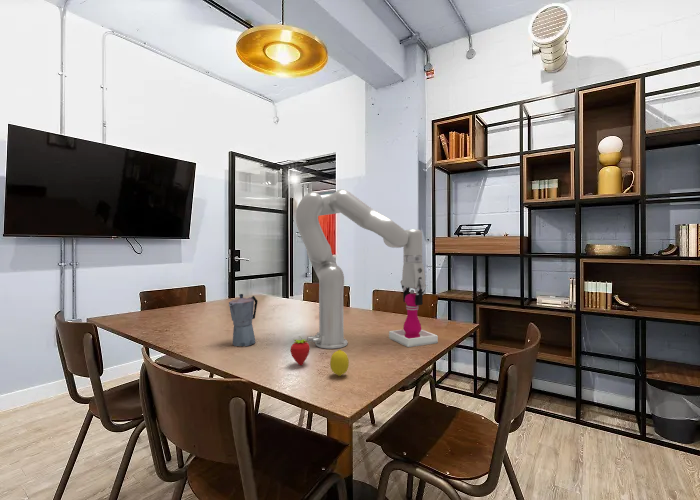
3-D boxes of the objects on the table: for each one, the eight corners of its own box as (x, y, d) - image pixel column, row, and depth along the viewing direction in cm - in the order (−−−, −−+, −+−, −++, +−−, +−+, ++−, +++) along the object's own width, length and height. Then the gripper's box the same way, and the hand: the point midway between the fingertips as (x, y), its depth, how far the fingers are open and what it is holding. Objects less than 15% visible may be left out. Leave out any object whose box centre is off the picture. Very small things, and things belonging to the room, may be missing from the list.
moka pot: (220, 347, 136) (220, 295, 136) (246, 337, 150) (246, 290, 150) (241, 350, 132) (240, 296, 132) (265, 339, 147) (265, 291, 146)
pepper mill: (421, 341, 140) (421, 291, 140) (402, 340, 142) (402, 290, 141) (421, 336, 147) (421, 288, 147) (403, 335, 149) (403, 288, 148)
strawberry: (286, 368, 113) (286, 337, 113) (297, 360, 120) (297, 331, 120) (303, 370, 111) (302, 338, 111) (313, 362, 118) (313, 333, 118)
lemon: (330, 373, 109) (329, 347, 109) (348, 372, 109) (347, 346, 109) (330, 380, 103) (330, 352, 103) (349, 379, 104) (349, 352, 104)
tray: (407, 347, 135) (407, 339, 135) (389, 338, 148) (389, 331, 148) (437, 342, 141) (437, 335, 141) (416, 334, 154) (417, 327, 154)
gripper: (433, 260, 138) (433, 306, 138) (408, 258, 154) (408, 299, 154) (417, 261, 135) (417, 307, 135) (393, 259, 150) (393, 300, 151)
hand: (412, 303), depth 144 cm, fingers open, 7 cm apart
